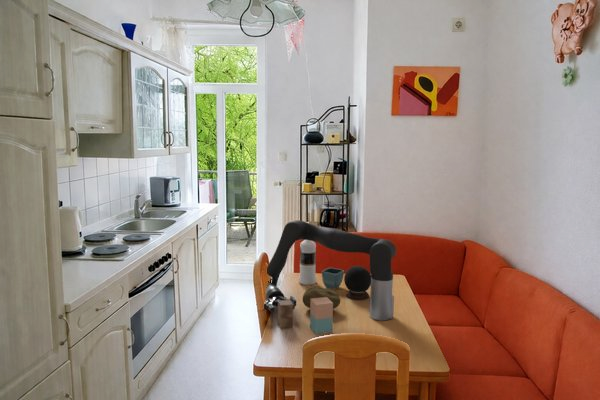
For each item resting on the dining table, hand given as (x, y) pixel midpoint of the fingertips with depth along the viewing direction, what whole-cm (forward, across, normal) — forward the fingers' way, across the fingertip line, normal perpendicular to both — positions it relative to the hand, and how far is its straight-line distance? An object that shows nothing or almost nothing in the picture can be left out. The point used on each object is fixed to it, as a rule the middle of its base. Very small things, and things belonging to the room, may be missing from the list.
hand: (283, 308), depth 184 cm
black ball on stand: (-21, +43, +6) cm, 48 cm away
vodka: (-46, +26, +6) cm, 53 cm away
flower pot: (-36, +36, +6) cm, 51 cm away
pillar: (+4, 0, +6) cm, 7 cm away
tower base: (+10, +13, +6) cm, 18 cm away
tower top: (+11, +13, 0) cm, 17 cm away
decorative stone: (-8, +20, +6) cm, 23 cm away
